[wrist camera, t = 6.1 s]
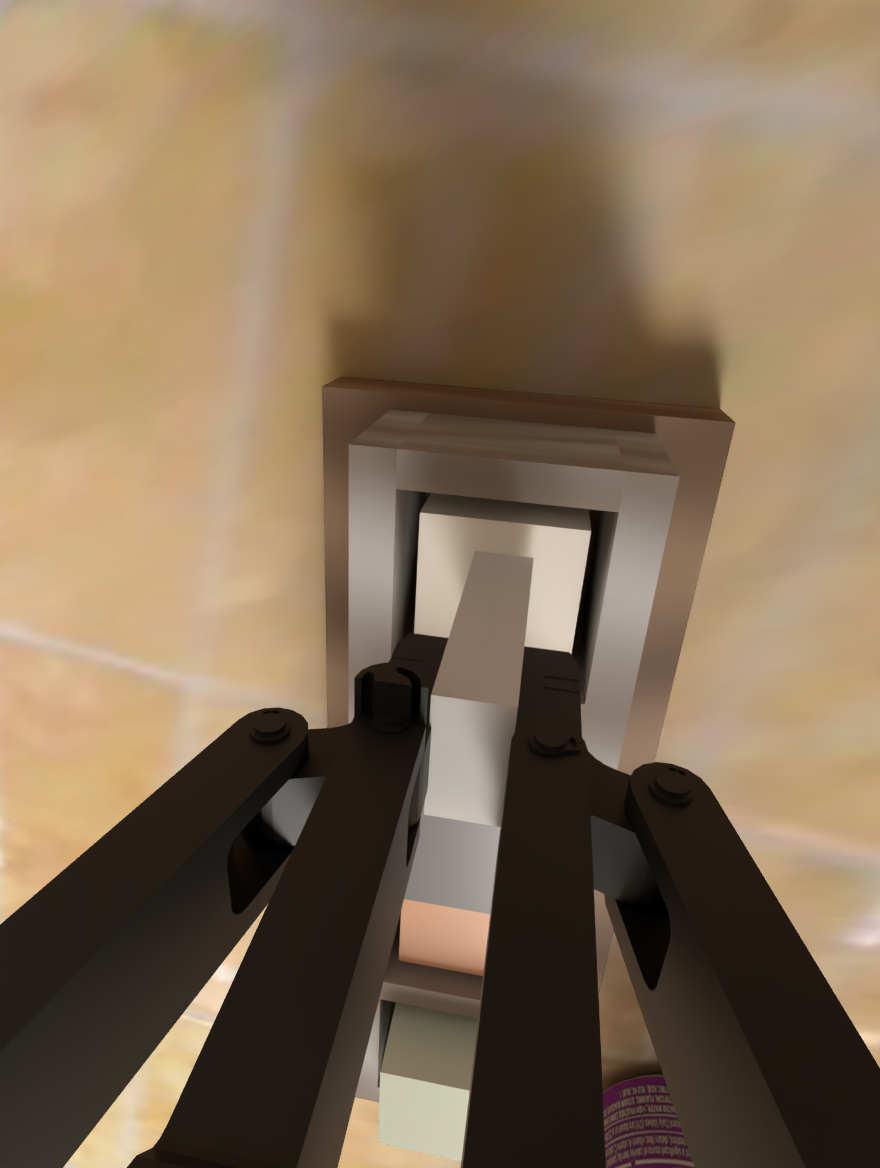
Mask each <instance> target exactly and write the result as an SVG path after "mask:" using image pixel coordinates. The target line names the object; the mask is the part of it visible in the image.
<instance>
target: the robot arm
mask: <svg viewBox="0 0 880 1168" xmlns="http://www.w3.org/2000/svg"><path fill="white" fill-rule="evenodd" d="M533 559H534V558H532V557H523V556H514V555H506V554H497V553H488V552H480V551H475V554H474V557H473V560H472V563H471V567H470V570H469V573H468V576H467V580H466V583H465V586H464V589H463V593H462V596H461V599H460V602H459V606H458V609H457V612H456V615H455V619H454V622H453V625H452V628H451V632H450V635H449V638H445V637H437V636H430V635H422V634H414V633H410V634H409V635H408V636H406V637H405V638H404V639H402V640H401V641H400V642H398V643H397V645H396V647H395V649H394V651H393V654H392V656H391V659H390V661H389V663H380V664H375V665H371V666H369V667H367V668H365V669H363V670H361V671H360V672H359V673H358V674H357V675H356V676H355V678H354V718H353V720H352V722H351V723H349V724H346V725H343V726H339V727H333V728H323V729H309V730H308V723H307V721H306V720H305V719H304V717H303V716H302V715H300V714H298V713H297V712H295V711H293V710H289V709H283V708H265V709H261V710H258V711H254V712H251V713H249V714H247V715H246V716H244V717H242V718H241V719H239V720H238V721H237V722H235V723H234V724H233V725H232V726H231V727H230V728H229V729H227V730H226V731H225V732H224V733H223V734H222V735H220V736H219V737H218V738H217V739H216V740H215V741H213V742H212V743H211V744H210V745H209V746H208V747H206V748H205V749H204V750H203V751H202V752H201V753H199V754H198V755H197V756H196V757H195V758H194V759H192V760H191V761H190V762H189V763H188V764H187V765H185V766H184V767H183V768H182V769H181V770H180V771H178V772H177V773H176V774H175V775H174V776H173V777H171V778H170V779H169V780H168V781H167V782H166V783H165V784H163V785H162V786H161V787H160V788H159V789H158V790H156V791H155V792H154V793H153V794H152V795H151V796H149V797H148V798H147V799H146V800H145V801H144V802H142V803H141V804H140V805H139V806H138V807H137V808H135V809H134V810H133V811H132V812H131V813H130V814H128V815H127V816H126V817H125V818H124V819H123V820H121V821H120V822H119V823H118V824H117V825H116V826H114V827H113V828H112V829H111V830H110V831H109V832H107V833H106V834H105V835H104V836H103V837H102V838H101V839H99V840H98V841H97V842H96V843H95V844H94V845H92V846H91V847H90V848H89V849H88V850H87V851H85V852H84V853H83V854H82V855H81V856H80V857H78V858H77V859H76V860H75V861H74V862H73V863H71V864H70V865H69V866H68V867H67V868H66V869H64V870H63V871H62V872H61V873H60V874H59V875H57V876H56V877H55V878H54V879H53V880H52V881H50V882H49V883H48V884H47V885H46V886H45V887H43V888H42V889H41V890H40V891H39V892H38V893H37V894H35V895H34V896H33V897H32V898H31V899H30V900H28V901H27V902H26V903H25V904H24V905H23V906H21V907H20V908H19V909H18V910H17V911H16V912H14V913H13V914H12V915H11V916H10V917H9V918H7V919H6V920H5V921H4V922H3V923H2V924H0V1168H63V1167H64V1166H65V1164H66V1163H67V1162H68V1160H69V1159H70V1158H71V1157H72V1155H73V1154H74V1153H75V1151H76V1150H77V1149H78V1148H79V1146H80V1145H81V1144H82V1142H83V1141H84V1140H85V1139H86V1137H87V1136H88V1135H89V1133H90V1132H91V1131H92V1130H93V1128H94V1127H95V1126H96V1124H97V1123H98V1122H99V1121H100V1119H101V1118H102V1117H103V1115H104V1114H105V1113H106V1112H107V1110H108V1109H109V1108H110V1106H111V1105H112V1104H113V1103H114V1101H115V1100H116V1099H117V1097H118V1096H119V1095H120V1094H121V1092H122V1091H123V1090H124V1088H125V1087H126V1086H127V1085H128V1083H129V1082H130V1081H131V1079H132V1078H133V1077H134V1076H135V1074H136V1073H137V1072H138V1070H139V1069H140V1068H141V1067H142V1065H143V1064H144V1063H145V1061H146V1060H147V1059H148V1058H149V1056H150V1055H151V1054H152V1052H153V1051H154V1050H155V1049H156V1047H157V1046H158V1045H159V1043H160V1042H161V1041H162V1040H163V1038H164V1037H165V1036H166V1034H167V1033H168V1032H169V1031H170V1029H171V1028H172V1027H173V1025H174V1024H175V1023H176V1022H177V1020H178V1019H179V1018H180V1016H181V1015H182V1014H183V1013H184V1011H185V1010H186V1009H187V1007H188V1006H189V1005H190V1004H191V1002H192V1001H193V1000H194V998H195V997H196V996H197V995H198V993H199V992H200V991H201V989H202V988H203V987H204V986H205V984H206V983H207V982H208V980H209V979H210V978H211V977H212V975H213V974H214V973H215V971H216V970H217V969H218V967H219V966H220V965H221V964H222V962H223V961H224V960H225V958H226V957H227V956H228V955H229V953H230V952H231V951H232V949H233V948H234V947H235V946H236V944H237V943H238V942H239V940H240V939H241V938H242V937H243V935H244V934H245V933H246V931H247V930H248V929H249V928H250V926H251V925H252V924H253V922H254V921H255V920H256V919H257V917H258V916H259V915H260V913H261V912H262V911H263V910H264V908H265V907H266V906H267V904H268V903H269V904H268V906H267V908H266V910H265V912H264V914H263V917H262V919H261V921H260V923H259V925H258V928H257V930H256V932H255V934H254V936H253V939H252V941H251V943H250V945H249V947H248V949H247V952H246V954H245V956H244V958H243V960H242V963H241V965H240V967H239V969H238V971H237V974H236V976H235V978H234V980H233V982H232V984H231V987H230V989H229V991H228V993H227V995H226V998H225V1000H224V1002H223V1004H222V1006H221V1008H220V1011H219V1013H218V1015H217V1017H216V1019H215V1022H214V1024H213V1026H212V1028H211V1030H210V1033H209V1035H208V1037H207V1039H206V1041H205V1043H204V1046H203V1048H202V1050H201V1052H200V1054H199V1057H198V1059H197V1061H196V1063H195V1065H194V1068H193V1070H192V1072H191V1074H190V1076H189V1078H188V1081H187V1083H186V1085H185V1087H184V1089H183V1092H182V1094H181V1096H180V1098H179V1100H178V1103H177V1105H176V1107H175V1109H174V1111H173V1113H172V1116H171V1118H170V1120H169V1122H168V1124H167V1126H166V1128H165V1130H164V1132H163V1134H162V1136H161V1137H160V1139H159V1140H158V1142H157V1143H156V1144H155V1145H154V1147H153V1148H151V1149H149V1150H147V1151H145V1152H143V1153H141V1154H139V1155H137V1156H136V1157H135V1158H134V1159H133V1161H132V1162H131V1163H130V1164H129V1166H128V1167H127V1168H337V1167H338V1163H339V1159H340V1155H341V1151H342V1147H343V1143H344V1139H345V1135H346V1131H347V1127H348V1122H349V1118H350V1114H351V1110H352V1106H353V1102H354V1098H355V1094H356V1090H357V1086H358V1082H359V1078H360V1074H361V1070H362V1066H363V1062H364V1058H365V1054H366V1050H367V1046H368V1042H369V1038H370V1034H371V1030H372V1026H373V1022H374V1018H375V1014H376V1010H377V1006H378V1002H379V998H380V994H381V990H382V986H383V982H384V977H385V973H386V969H387V965H388V961H389V957H390V953H391V949H392V945H393V941H394V937H395V933H396V929H397V925H398V921H399V917H400V913H401V909H402V905H403V901H404V897H405V893H406V889H407V885H408V881H409V877H410V873H411V869H412V865H413V861H414V857H415V853H416V849H417V845H418V841H419V836H420V821H421V813H422V809H423V805H424V815H430V816H436V817H442V818H448V819H454V820H460V821H466V822H472V823H478V824H484V825H491V826H497V827H501V829H500V837H499V845H498V853H497V860H496V868H495V876H494V887H493V896H492V904H491V913H490V921H489V930H488V938H487V947H486V955H485V964H484V973H483V981H482V990H481V998H480V1007H479V1015H478V1024H477V1032H476V1041H475V1049H474V1058H473V1067H472V1075H471V1084H470V1092H469V1101H468V1109H467V1118H466V1126H465V1135H464V1143H463V1152H462V1161H461V1168H606V1159H605V1136H604V1113H603V1090H602V1066H601V1043H600V1020H599V997H598V974H597V951H596V927H595V904H594V889H595V890H597V891H599V892H601V893H603V894H604V897H605V905H606V908H607V911H608V914H609V917H610V920H611V923H612V926H613V929H614V931H615V934H616V937H617V940H618V943H619V946H620V949H621V952H622V955H623V958H624V961H625V964H626V967H627V970H628V973H629V976H630V979H631V982H632V984H633V987H634V990H635V993H636V996H637V999H638V1002H639V1005H640V1008H641V1011H642V1014H643V1017H644V1020H645V1023H646V1026H647V1029H648V1032H649V1035H650V1038H651V1040H652V1043H653V1046H654V1049H655V1052H656V1055H657V1058H658V1061H659V1064H660V1067H661V1070H662V1073H663V1076H664V1079H665V1082H666V1085H667V1088H668V1091H669V1093H670V1096H671V1099H672V1102H673V1105H674V1108H675V1111H676V1114H677V1117H678V1120H679V1123H680V1126H681V1129H682V1132H683V1135H684V1138H685V1141H686V1144H687V1147H688V1149H689V1152H690V1155H691V1158H692V1161H693V1164H694V1167H695V1168H880V1068H879V1066H878V1064H877V1063H876V1061H875V1060H874V1058H873V1056H872V1055H871V1053H870V1051H869V1050H868V1048H867V1046H866V1045H865V1043H864V1041H863V1040H862V1038H861V1036H860V1035H859V1033H858V1031H857V1030H856V1028H855V1027H854V1025H853V1023H852V1022H851V1020H850V1018H849V1017H848V1015H847V1013H846V1012H845V1010H844V1008H843V1007H842V1005H841V1003H840V1002H839V1000H838V999H837V997H836V995H835V994H834V992H833V990H832V989H831V987H830V985H829V984H828V982H827V980H826V979H825V977H824V975H823V974H822V972H821V971H820V969H819V967H818V966H817V964H816V962H815V961H814V959H813V957H812V956H811V954H810V952H809V951H808V949H807V947H806V946H805V944H804V943H803V941H802V939H801V938H800V936H799V934H798V933H797V931H796V929H795V928H794V926H793V924H792V923H791V921H790V919H789V918H788V916H787V914H786V913H785V911H784V910H783V908H782V906H781V905H780V903H779V901H778V900H777V898H776V896H775V895H774V893H773V891H772V890H771V888H770V886H769V885H768V883H767V882H766V880H765V878H764V877H763V875H762V873H761V872H760V870H759V868H758V867H757V865H756V863H755V862H754V860H753V858H752V857H751V855H750V854H749V852H748V850H747V849H746V847H745V845H744V844H743V842H742V840H741V839H740V837H739V835H738V834H737V832H736V830H735V829H734V827H733V826H732V824H731V822H730V821H729V819H728V817H727V816H726V814H725V812H724V811H723V809H722V807H721V806H720V804H719V802H718V801H717V799H716V797H715V796H714V794H713V793H712V791H711V789H710V788H709V787H708V786H707V785H706V784H705V782H704V781H703V780H702V779H701V778H700V777H698V776H697V775H695V774H693V773H692V772H690V771H689V770H687V769H684V768H682V767H679V766H676V765H673V764H668V763H660V762H654V763H648V764H643V765H641V766H640V767H638V768H636V769H635V770H634V771H633V773H632V775H629V774H626V773H623V772H621V771H618V770H615V769H613V768H611V767H609V766H607V765H605V764H603V763H602V762H600V761H599V760H597V759H596V758H595V757H594V756H593V755H592V754H591V753H590V752H589V751H588V749H587V746H586V743H585V740H584V739H583V738H582V724H581V697H580V669H579V665H578V663H577V662H576V661H575V659H574V658H573V657H572V655H571V654H570V652H564V651H556V650H549V649H541V648H534V647H526V646H525V636H526V626H527V617H528V607H529V598H530V588H531V578H532V569H533ZM424 801H425V803H424Z"/></svg>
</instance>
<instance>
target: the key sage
mask: <svg viewBox="0 0 880 1168" xmlns="http://www.w3.org/2000/svg"><path fill="white" fill-rule="evenodd" d="M477 1024H478V1018H474V1017H469V1016H464V1015H459V1014H454V1013H448V1012H443V1011H438V1010H433V1009H428V1008H423V1007H418V1006H413V1005H407V1004H402V1003H397V1002H396V1004H395V1009H394V1013H393V1017H392V1022H391V1026H390V1031H389V1035H388V1040H387V1044H386V1049H385V1053H384V1058H383V1062H382V1067H381V1071H380V1094H379V1124H378V1143H381V1144H385V1145H390V1146H395V1147H399V1148H404V1149H408V1150H413V1151H417V1152H422V1153H426V1154H431V1155H435V1156H440V1157H444V1158H449V1159H453V1160H458V1161H462V1152H463V1143H464V1135H465V1126H466V1118H467V1109H468V1101H469V1092H470V1084H471V1075H472V1067H473V1058H474V1049H475V1041H476V1032H477Z"/></svg>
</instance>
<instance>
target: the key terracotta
mask: <svg viewBox="0 0 880 1168" xmlns="http://www.w3.org/2000/svg"><path fill="white" fill-rule="evenodd" d="M489 921H490V914H486V913H480V912H474V911H469V910H463V909H457V908H452V907H446V906H440V905H435V904H429V903H423V902H418V901H412V900H406V899H404V901H403V905H402V909H401V923H400V945H399V960H400V961H405V962H410V963H416V964H421V965H426V966H432V967H437V968H442V969H448V970H453V971H458V972H464V973H469V974H474V975H480V976H483V973H484V964H485V955H486V947H487V938H488V930H489Z"/></svg>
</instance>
